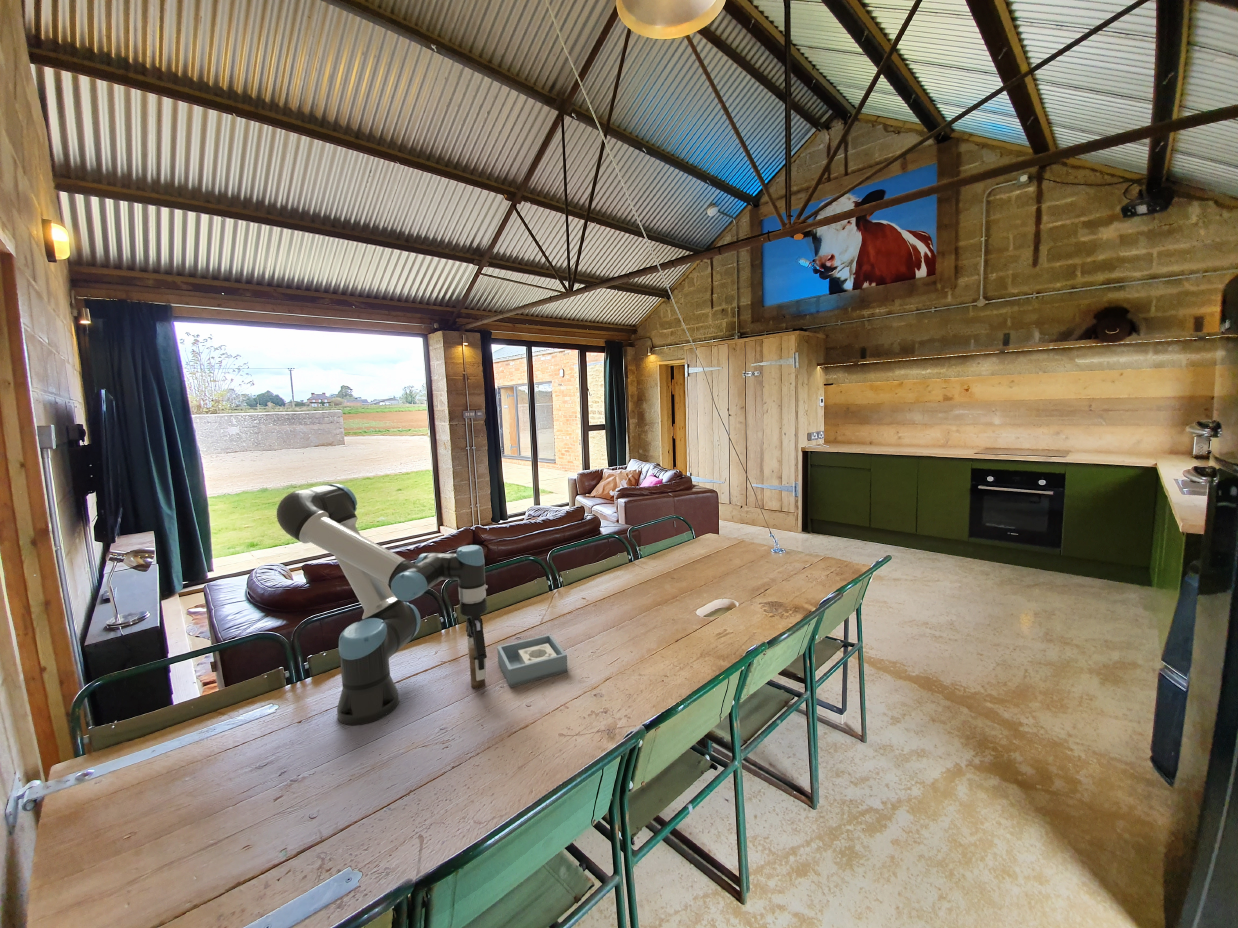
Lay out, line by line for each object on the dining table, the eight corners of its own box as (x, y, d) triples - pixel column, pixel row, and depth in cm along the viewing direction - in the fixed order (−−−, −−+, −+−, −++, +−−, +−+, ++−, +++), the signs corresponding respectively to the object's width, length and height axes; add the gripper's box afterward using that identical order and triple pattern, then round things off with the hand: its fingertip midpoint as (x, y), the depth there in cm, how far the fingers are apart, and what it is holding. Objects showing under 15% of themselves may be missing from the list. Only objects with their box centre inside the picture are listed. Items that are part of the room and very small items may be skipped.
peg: (472, 689, 140) (469, 650, 139) (470, 682, 144) (467, 644, 143) (486, 685, 142) (484, 647, 141) (483, 679, 146) (481, 641, 145)
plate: (526, 673, 146) (526, 664, 146) (518, 659, 155) (518, 650, 155) (558, 665, 151) (557, 656, 150) (548, 651, 160) (547, 643, 159)
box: (509, 687, 141) (508, 669, 141) (498, 662, 156) (497, 646, 155) (567, 671, 149) (566, 654, 148) (551, 649, 163) (550, 633, 163)
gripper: (494, 611, 131) (499, 685, 133) (478, 583, 153) (482, 646, 155) (466, 617, 127) (471, 692, 130) (454, 587, 150) (458, 652, 152)
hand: (477, 667), depth 143 cm, fingers open, 13 cm apart
